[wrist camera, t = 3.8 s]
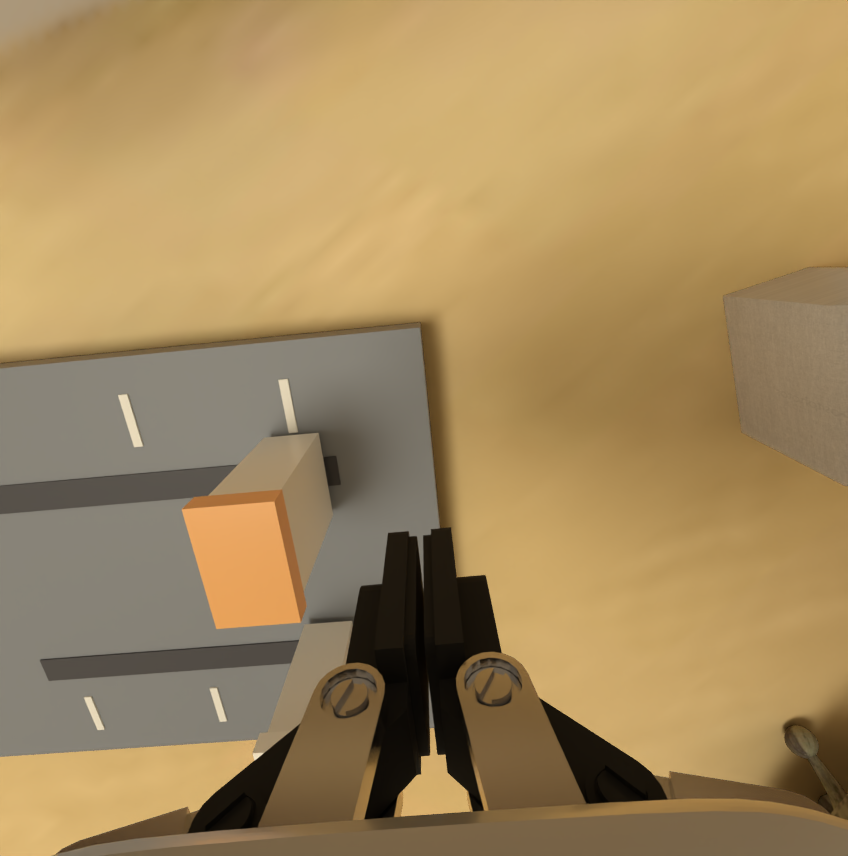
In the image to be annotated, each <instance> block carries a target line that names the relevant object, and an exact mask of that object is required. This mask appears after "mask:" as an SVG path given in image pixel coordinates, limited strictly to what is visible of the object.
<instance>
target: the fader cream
mask: <svg viewBox="0 0 848 856" xmlns="http://www.w3.org/2000/svg"><path fill="white" fill-rule="evenodd" d="M352 627H353V624H352V621H343V622H330V623H316V624H305V625H304V628H303V631H302V633H301V636H300V639H299V642H298V645H297V648H296V651H295V654H294V657H293V660H292V663H291V665H290V668H289V671H288V674H287V677H286V680H285V683H284V686H283V689H282V692H281V695H280V697H279V700H278V703H277V706H276V709H275V712H274V715H273V718H272V721H271V724H270V727H269V729H268V732H267V733H260V734H259V737H258V740H257V742H256V745H255V748H254V751H253V757H254V760H256V759H257V758H258V757H260V756H261V755H262V754H263V753H265V752H266V751H267V750H268V749H269V748H271V747H272V746H273V745H274V744H276V743H277V742H278V741H279V740H280V739H282V738H283V737H284V736H285V735H287V734H288V733H289V732H290V731H291V730H293V729H294V728H295V727H296V726H298V725H299V724H300V723H301V721H302V718H303V716H304V713H305V711H306V708H307V706H308V704H309V701H310V699H311V696H312V694H313V691H314V689H315V688H316V686H317V684H318V683H319V681H320V680H321V679H322V678H323V677H324V676H325V675H326V674H327V673H328V672H330V671H332V670H333V669H335V668H337V667H339V666H342V665H345V664H346V660H347V654H348V649H349V644H350V638H351V633H352Z"/></svg>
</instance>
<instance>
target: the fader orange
mask: <svg viewBox="0 0 848 856" xmlns="http://www.w3.org/2000/svg"><path fill="white" fill-rule="evenodd" d="M182 513H183V516H184V520H185V523H186V527H187V530H188V533H189V537H190V540H191V544H192V547H193V551H194V554H195V557H196V561H197V564H198V568H199V571H200V575H201V578H202V582H203V585H204V588H205V592H206V595H207V599H208V602H209V606H210V609H211V612H212V616H213V619H214V623H215V626H216V629H224V628H237V627H250V626H264V625H277V624H290V623H301V621H302V618H303V615H304V612H305V610H306V607H307V605H306V600H305V595H304V590H305V587H306V584H307V582H308V579H309V576H310V574H311V571H312V569H313V566H314V563H315V561H316V558H317V556H318V553H319V550H320V548H321V545H322V542H323V540H324V537H325V535H326V532H327V529H328V527H329V524H330V521H331V519H332V516H333V511H332V506H331V500H330V494H329V489H328V483H327V477H326V472H325V466H324V460H323V455H322V449H321V444H320V438H319V433H310V434H299V435H288V436H277V437H266V438H263V439H262V440H261V441H260V442H259V443H258V445H257V446H256V447H255V448H254V449H253V450H252V451H251V452H250V453H249V454H248V455H247V456H246V457H245V458H244V459H243V460H242V461H241V462H240V463H239V464H238V465H237V466H236V467H235V468H234V469H233V470H232V471H231V473H230V474H229V475H228V476H227V477H226V478H225V479H224V480H223V481H222V482H221V483H220V484H219V485H218V486H217V487H216V488H215V489H214V490H213V491H212V492H211V493H210V494H209V495H208V496H200V497H194V498H193V499H192V500H191V501H190V502H188V503H187V504H186V505H185V506H184V507H183V508H182Z"/></svg>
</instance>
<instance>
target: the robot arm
mask: <svg viewBox="0 0 848 856" xmlns="http://www.w3.org/2000/svg"><path fill="white" fill-rule="evenodd" d="M423 573H424V590H423V582H422V573H421V565H420V556H419V548H418V539H417V536H410V535H409V531H404V532H392V533H388V536H387V545H386V553H385V562H384V570H383V579H382V584H375V585H363V586H361V587H360V590H359V594H358V600H357V605H356V611H355V616H354V622H353V627H352V633H351V638H350V644H349V649H348V654H347V660H346V664H345V665H342V666H339V667H337V668H335V669H333V670H332V671H330V672H328V673H327V674H326V675H325V676H324V677H323V678H322V679H321V680H320V681H319V683H318V684H317V686H316V688H315V689H314V691H313V694H312V696H311V699H310V701H309V704H308V706H307V708H306V711H305V713H304V716H303V718H302V721H301V723H300V724H299V725H298V726H296V727H295V728H294V729H293V730H291V731H290V732H289V733H288V734H287V735H285V736H284V737H283V738H282V739H280V740H279V741H278V742H277V743H276V744H274V745H273V746H272V747H271V748H269V749H268V750H267V751H266V752H265V753H263V754H262V755H261V756H260V757H258V758H257V759H256V760H255V761H254V762H252V763H251V764H250V765H249V766H247V767H246V768H245V769H244V770H243V771H241V772H240V773H239V774H238V775H236V776H235V777H234V778H233V779H232V780H230V781H229V782H228V783H227V784H225V785H224V786H223V787H222V788H221V789H219V790H218V791H217V792H216V793H214V794H213V795H212V796H211V797H210V798H209V799H208V800H207V801H206V802H205V803H204V804H203V805H202V807H201V808H200V810H198V811H195V812H192V813H190V811H189V809H188V807H185V808H182V809H179V810H176V811H173V812H169V813H166V814H163V815H160V816H157V817H153V818H150V819H147V820H144V821H141V822H137V823H134V824H131V825H128V826H125V827H122V828H118V829H115V830H112V831H109V832H106V833H102V834H99V835H96V836H93V837H90V838H86V839H83V840H80V841H78V842H76V843H73V844H71V845H69V846H67V847H65V848H63V849H62V850H60V851H59V852H58V853H56V854H55V855H53V856H848V820H845V819H842V818H839V817H836V816H833V815H831V814H830V813H829V812H828V811H827V810H826V809H824V808H823V807H822V806H821V805H819V804H817V803H816V802H814V801H812V800H811V799H809V798H807V797H806V796H804V795H801V794H798V793H795V792H791V791H788V790H784V789H778V788H771V787H765V786H759V785H753V784H746V783H740V782H734V781H727V780H721V779H715V778H709V777H702V776H696V775H690V774H683V773H677V772H671V771H669V778H666V777H660V776H654V775H653V774H652V773H651V772H650V771H649V770H648V769H647V768H645V767H644V766H643V765H642V764H640V763H639V762H638V761H636V760H635V759H633V758H632V757H630V756H629V755H627V754H625V753H624V752H622V751H621V750H619V749H618V748H616V747H615V746H613V745H611V744H610V743H608V742H607V741H605V740H604V739H602V738H601V737H599V736H598V735H596V734H594V733H593V732H591V731H590V730H588V729H587V728H585V727H584V726H582V725H580V724H579V723H577V722H576V721H574V720H573V719H571V718H570V717H568V716H566V715H565V714H563V713H562V712H560V711H559V710H557V709H556V708H554V707H553V706H551V705H549V704H548V703H546V702H545V701H543V700H542V699H540V698H539V697H538V695H537V692H536V690H535V688H534V686H533V684H532V681H531V679H530V677H529V675H528V673H527V671H526V670H525V668H524V667H523V665H522V664H521V663H519V662H518V661H517V660H516V659H515V658H513V657H511V656H508V655H506V654H503V653H502V652H501V648H500V643H499V638H498V633H497V628H496V623H495V618H494V614H493V609H492V604H491V599H490V594H489V589H488V584H487V580H486V576H485V575H481V576H469V577H458V578H457V577H456V569H455V560H454V551H453V542H452V533H451V527H449V528H438V529H431V535H423ZM429 689H430V697H431V705H432V713H433V721H434V729H435V737H436V746H437V753H438V755H443V754H446V762H447V770H448V773H449V774H450V775H451V776H452V777H453V778H454V779H455V780H456V781H457V782H459V783H460V784H461V785H462V786H463V787H464V788H465V789H466V790H467V800H468V805H469V809H470V812H461V813H447V814H433V815H418V816H405V817H401V812H402V806H403V789H404V788H405V787H406V786H407V785H408V784H409V783H410V782H411V781H412V780H413V778H414V777H415V776H416V775H418V774H421V756H429V755H430V723H429Z"/></svg>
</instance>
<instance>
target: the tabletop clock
mask: <svg viewBox="0 0 848 856" xmlns="http://www.w3.org/2000/svg"><path fill="white" fill-rule="evenodd" d="M784 738H785V743H786V745H787V746H788V748H789V749H790V750H791V751H792V752H793V753H795V754H796V755H798V756H800V757H803V758H808V760H809V762H810V764H811V765H812V767H813V769H814V771H815V772H816V774H817V776H818V778H819V779H820V781H821V783H822V785H823V786H824V788H825V790H826V792H827V793H828V794H827V795H824V796H821V797H820V799H819V801H818V804H819V805H821V806H822V807H823V808H824V809H826V810H827V811H828V812H829V813H830V814H831V815H833V816H836V817H839V818H842V819H845V820H848V794H847V793H846V792H845V791H844V789H843V788H842V787H841V786H840V784H839V783H838V782H837V780H836V779H835V778H834V777H833V775H832V774H831V773H830V772H829V770H828V769H827V768H826V767H825V765H824V764H823V763H822V762H821V760H820V759H819V758H818V756H817V755H816V754H817V752H818V750H819V744H818V740H817V739H816V737H815V736H814V735H813V734H812V732H811V731H809V730H807V729H806V728H804V727H802V726H797V725H794V726H790V727H788V728H787V730H786V731H785V737H784Z"/></svg>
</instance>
